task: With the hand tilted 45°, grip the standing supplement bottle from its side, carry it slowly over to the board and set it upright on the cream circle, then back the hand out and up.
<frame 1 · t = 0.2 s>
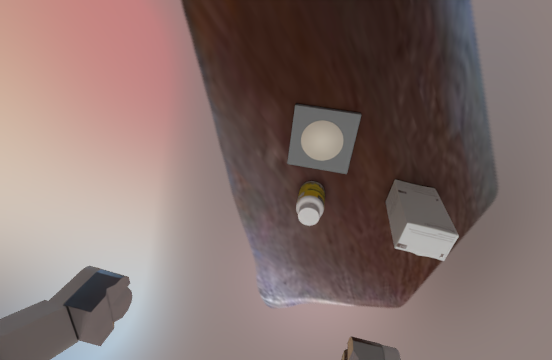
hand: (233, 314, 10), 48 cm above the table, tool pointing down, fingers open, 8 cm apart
target board: (322, 138, 56), on the table
supplement bottle: (312, 190, 62), on the table
skincare box: (407, 195, 59), on the table
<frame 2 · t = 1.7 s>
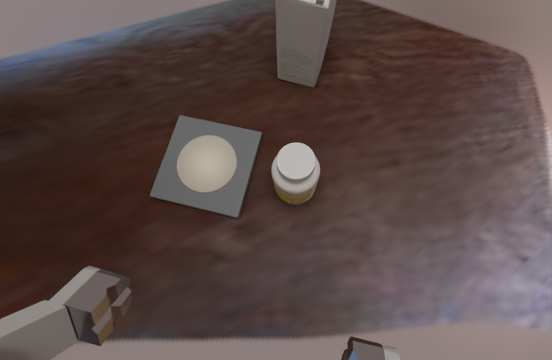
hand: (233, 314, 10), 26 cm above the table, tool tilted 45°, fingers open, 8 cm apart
target board: (209, 166, 40), on the table
supplement bottle: (294, 186, 39), on the table
skincare box: (303, 64, 44), on the table
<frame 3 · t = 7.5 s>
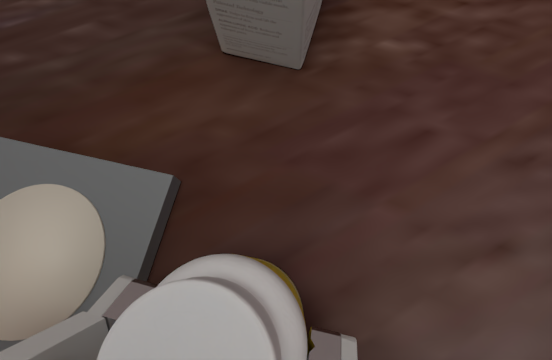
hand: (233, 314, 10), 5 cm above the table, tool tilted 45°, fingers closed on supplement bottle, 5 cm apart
target board: (50, 257, 17), on the table
supplement bottle: (251, 311, 16), on the table, touching gripper
skincare box: (278, 22, 21), on the table
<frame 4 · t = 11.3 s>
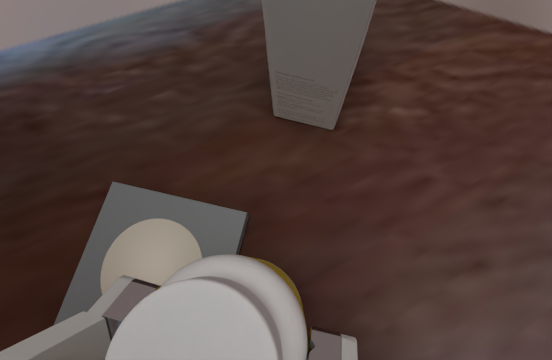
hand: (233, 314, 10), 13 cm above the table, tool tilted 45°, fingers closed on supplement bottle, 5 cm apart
target board: (159, 270, 24), on the table
supplement bottle: (252, 310, 16), point 7 cm above the table, touching gripper
skincare box: (314, 91, 28), on the table
when the fingers open (8 cm above the table, at t = 15.6 s): supplement bottle stays where it is, resting on target board.
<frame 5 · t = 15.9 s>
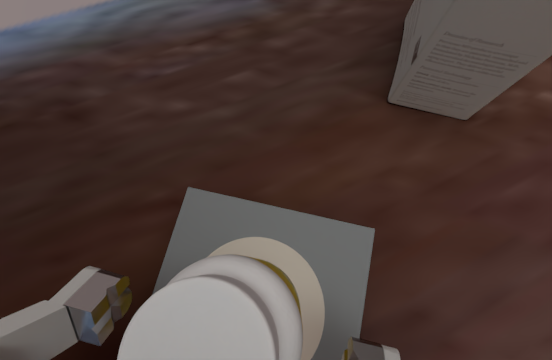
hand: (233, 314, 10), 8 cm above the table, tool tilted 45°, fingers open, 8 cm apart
target board: (256, 305, 18), on the table
supplement bottle: (251, 308, 17), point 1 cm above the table, touching target board
skincare box: (434, 71, 22), on the table
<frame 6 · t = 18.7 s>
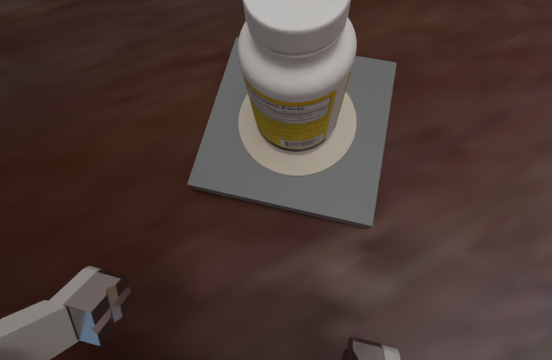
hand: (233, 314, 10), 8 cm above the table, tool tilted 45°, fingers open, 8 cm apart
target board: (296, 128, 21), on the table
supplement bottle: (295, 120, 20), point 1 cm above the table, touching target board
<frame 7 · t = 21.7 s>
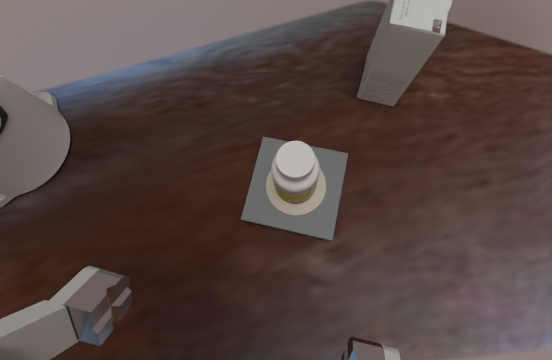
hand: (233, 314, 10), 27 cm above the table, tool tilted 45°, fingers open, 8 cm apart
target board: (295, 187, 40), on the table
supplement bottle: (295, 185, 39), point 1 cm above the table, touching target board
skincare box: (380, 83, 44), on the table
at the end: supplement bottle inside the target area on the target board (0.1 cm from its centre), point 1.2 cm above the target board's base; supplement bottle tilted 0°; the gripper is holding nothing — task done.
